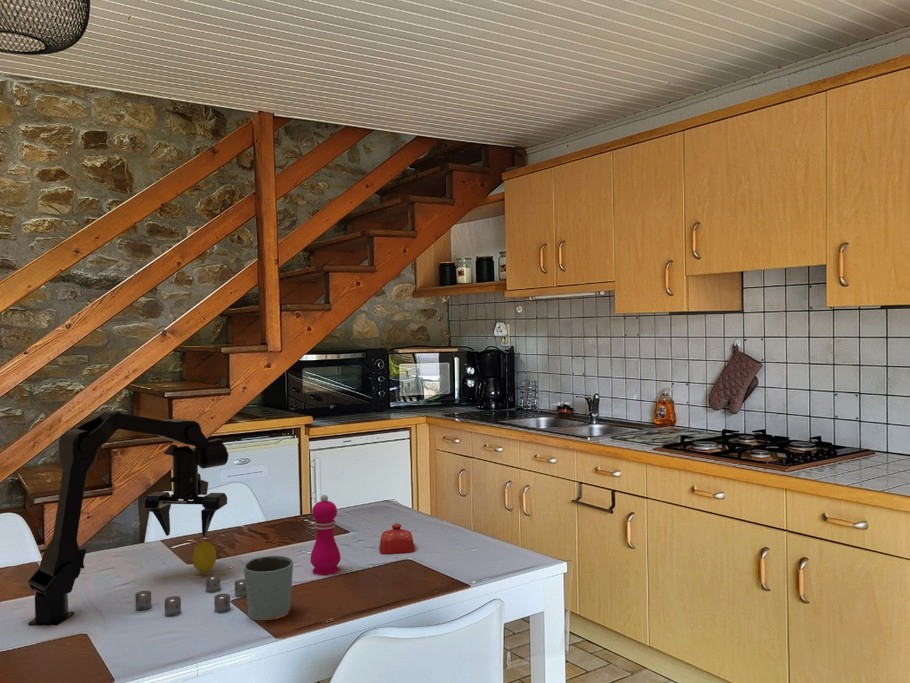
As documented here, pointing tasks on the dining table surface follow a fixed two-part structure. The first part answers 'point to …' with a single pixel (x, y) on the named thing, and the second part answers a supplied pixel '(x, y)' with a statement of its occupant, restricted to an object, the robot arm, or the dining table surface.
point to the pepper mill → (325, 538)
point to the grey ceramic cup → (268, 586)
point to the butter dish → (396, 541)
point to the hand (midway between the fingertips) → (186, 535)
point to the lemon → (204, 557)
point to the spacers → (175, 601)
